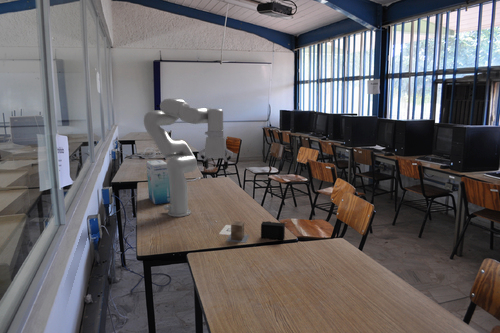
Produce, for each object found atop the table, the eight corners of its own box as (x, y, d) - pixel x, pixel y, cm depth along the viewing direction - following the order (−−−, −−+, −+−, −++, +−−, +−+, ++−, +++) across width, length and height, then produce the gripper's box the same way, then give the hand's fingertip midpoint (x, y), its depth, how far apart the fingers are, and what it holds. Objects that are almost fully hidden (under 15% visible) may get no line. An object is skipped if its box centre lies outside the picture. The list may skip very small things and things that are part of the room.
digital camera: (285, 236, 174) (285, 222, 173) (283, 240, 169) (283, 226, 167) (263, 234, 176) (263, 220, 175) (260, 238, 171) (261, 224, 170)
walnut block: (231, 239, 169) (231, 224, 168) (233, 235, 174) (233, 221, 172) (242, 240, 168) (241, 225, 167) (244, 236, 173) (244, 221, 172)
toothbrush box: (148, 198, 239) (146, 160, 234) (164, 196, 243) (162, 159, 239) (154, 205, 223) (152, 165, 219) (171, 203, 228) (170, 163, 223)
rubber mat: (225, 241, 167) (225, 241, 167) (230, 234, 176) (230, 233, 176) (245, 243, 166) (245, 242, 166) (249, 235, 174) (249, 235, 174)
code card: (218, 234, 176) (218, 233, 176) (225, 225, 189) (225, 224, 189) (235, 235, 175) (235, 235, 175) (241, 226, 187) (241, 225, 187)
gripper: (196, 134, 181) (197, 169, 184) (231, 135, 177) (231, 171, 181) (201, 133, 188) (201, 166, 191) (234, 134, 185) (235, 168, 188)
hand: (216, 168), depth 186 cm, fingers open, 9 cm apart
